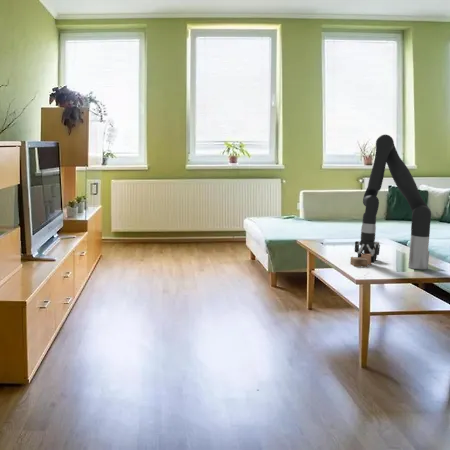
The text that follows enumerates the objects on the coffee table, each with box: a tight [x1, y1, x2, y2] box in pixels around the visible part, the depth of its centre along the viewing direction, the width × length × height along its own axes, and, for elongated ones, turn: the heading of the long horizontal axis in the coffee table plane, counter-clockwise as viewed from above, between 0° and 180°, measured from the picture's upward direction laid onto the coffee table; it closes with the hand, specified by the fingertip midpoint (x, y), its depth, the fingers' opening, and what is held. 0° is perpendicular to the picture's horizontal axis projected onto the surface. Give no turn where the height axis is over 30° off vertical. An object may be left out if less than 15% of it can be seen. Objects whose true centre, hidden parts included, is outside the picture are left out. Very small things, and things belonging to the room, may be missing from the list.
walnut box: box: [349, 256, 368, 268], centre depth 296 cm, size 7×7×4 cm
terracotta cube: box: [361, 253, 372, 266], centre depth 302 cm, size 5×5×5 cm
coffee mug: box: [361, 241, 380, 261], centre depth 316 cm, size 12×9×10 cm
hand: (365, 261), depth 302 cm, fingers closed on terracotta cube, 7 cm apart
